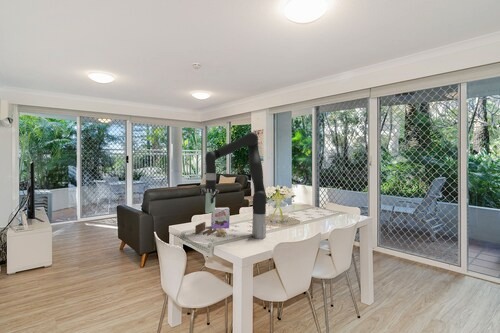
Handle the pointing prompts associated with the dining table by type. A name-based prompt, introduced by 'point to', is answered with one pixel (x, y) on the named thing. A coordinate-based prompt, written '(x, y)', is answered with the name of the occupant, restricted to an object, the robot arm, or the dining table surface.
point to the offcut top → (221, 231)
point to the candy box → (220, 218)
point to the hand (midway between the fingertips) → (210, 203)
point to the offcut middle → (220, 235)
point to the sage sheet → (209, 203)
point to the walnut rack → (201, 228)
